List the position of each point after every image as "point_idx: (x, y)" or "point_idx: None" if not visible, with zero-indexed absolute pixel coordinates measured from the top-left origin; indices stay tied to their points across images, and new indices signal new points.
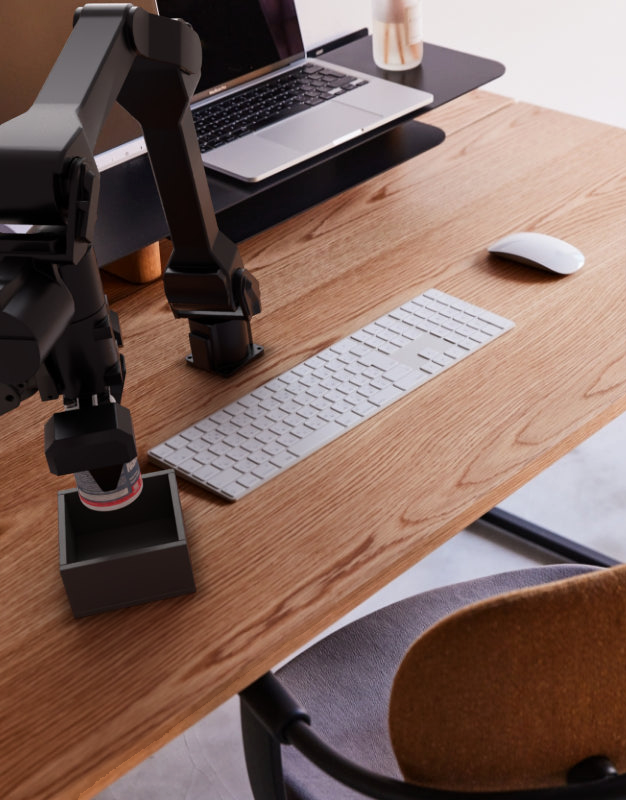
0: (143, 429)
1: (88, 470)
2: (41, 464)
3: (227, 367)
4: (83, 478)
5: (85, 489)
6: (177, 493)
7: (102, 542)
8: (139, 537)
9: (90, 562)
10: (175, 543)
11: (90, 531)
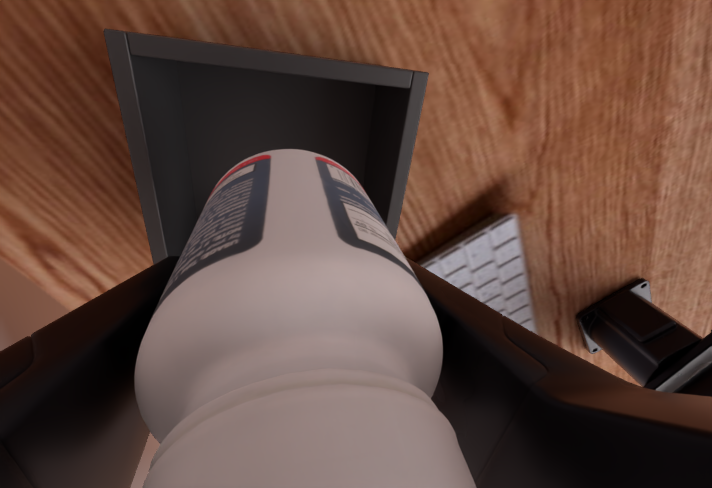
0: (562, 214)
1: (37, 333)
2: (602, 41)
3: (591, 320)
4: (199, 226)
5: (212, 200)
6: None
7: (341, 123)
8: None
9: (128, 119)
10: None
11: (373, 107)
